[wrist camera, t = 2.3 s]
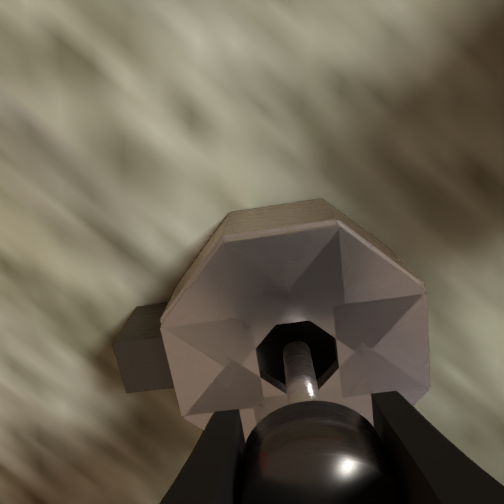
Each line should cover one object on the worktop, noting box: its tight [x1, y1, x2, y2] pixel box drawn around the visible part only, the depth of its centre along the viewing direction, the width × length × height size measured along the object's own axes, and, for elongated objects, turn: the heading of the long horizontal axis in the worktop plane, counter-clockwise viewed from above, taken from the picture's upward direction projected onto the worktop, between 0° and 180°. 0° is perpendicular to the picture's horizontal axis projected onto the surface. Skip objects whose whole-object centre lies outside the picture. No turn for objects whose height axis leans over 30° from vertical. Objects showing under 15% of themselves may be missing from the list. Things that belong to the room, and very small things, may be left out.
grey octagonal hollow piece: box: [112, 199, 430, 442], centre depth 16 cm, size 9×10×4 cm
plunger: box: [240, 341, 404, 504], centre depth 11 cm, size 3×3×6 cm
